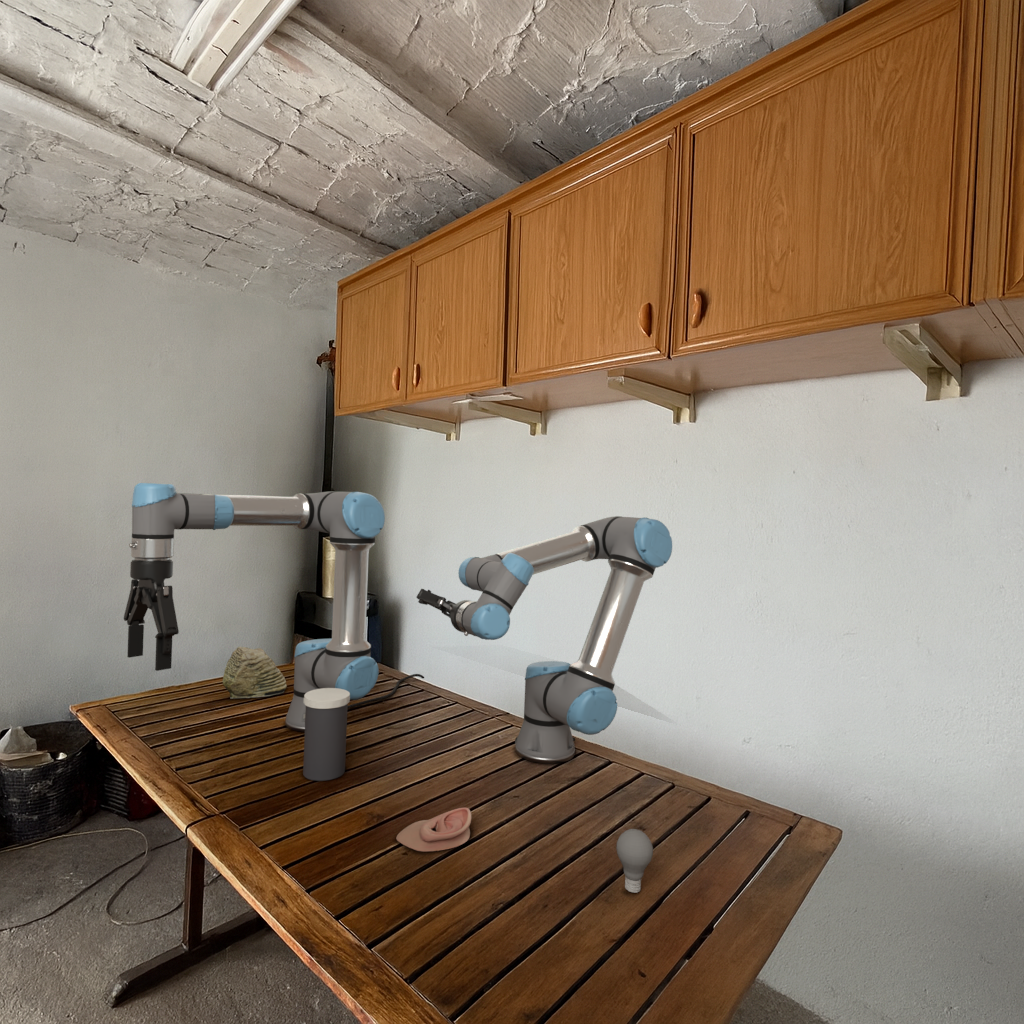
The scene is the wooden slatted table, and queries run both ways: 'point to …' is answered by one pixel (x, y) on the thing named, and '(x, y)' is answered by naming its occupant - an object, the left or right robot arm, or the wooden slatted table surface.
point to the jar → (325, 743)
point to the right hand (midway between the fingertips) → (443, 611)
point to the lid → (326, 698)
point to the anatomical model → (438, 831)
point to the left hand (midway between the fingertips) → (148, 662)
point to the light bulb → (634, 857)
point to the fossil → (252, 674)
